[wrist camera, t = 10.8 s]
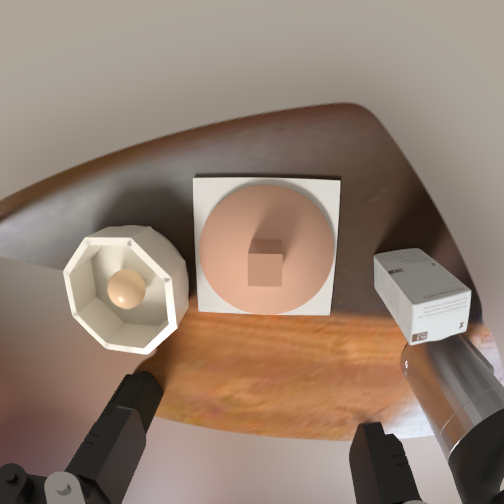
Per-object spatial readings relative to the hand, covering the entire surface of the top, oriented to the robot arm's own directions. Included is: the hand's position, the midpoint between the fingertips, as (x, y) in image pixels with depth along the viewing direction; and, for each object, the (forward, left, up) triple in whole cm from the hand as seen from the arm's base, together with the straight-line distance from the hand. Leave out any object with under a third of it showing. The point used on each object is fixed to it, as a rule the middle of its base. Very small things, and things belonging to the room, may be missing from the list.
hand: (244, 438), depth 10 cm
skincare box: (-15, +2, -25) cm, 29 cm away
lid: (0, 0, -24) cm, 24 cm away
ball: (+15, +4, -21) cm, 26 cm away
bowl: (+15, +4, -25) cm, 29 cm away
